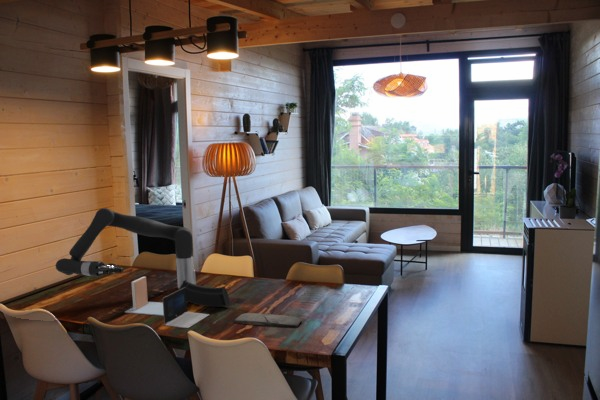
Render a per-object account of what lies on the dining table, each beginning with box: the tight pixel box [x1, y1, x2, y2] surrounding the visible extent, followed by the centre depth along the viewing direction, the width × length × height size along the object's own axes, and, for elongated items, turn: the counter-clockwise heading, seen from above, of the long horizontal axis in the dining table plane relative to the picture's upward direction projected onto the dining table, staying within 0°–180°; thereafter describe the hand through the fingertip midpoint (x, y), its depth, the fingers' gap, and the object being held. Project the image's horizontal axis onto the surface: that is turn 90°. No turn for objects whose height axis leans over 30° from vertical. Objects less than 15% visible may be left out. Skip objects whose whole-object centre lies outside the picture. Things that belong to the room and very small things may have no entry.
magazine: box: [178, 280, 232, 307], centre depth 262 cm, size 17×3×30 cm
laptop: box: [162, 287, 210, 329], centre depth 240 cm, size 18×12×13 cm
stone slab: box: [234, 312, 304, 329], centre depth 236 cm, size 10×3×30 cm
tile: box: [131, 276, 149, 310], centre depth 260 cm, size 2×10×14 cm, turn 163°
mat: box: [124, 301, 164, 317], centre depth 259 cm, size 21×16×1 cm
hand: (122, 270), depth 261 cm, fingers closed
